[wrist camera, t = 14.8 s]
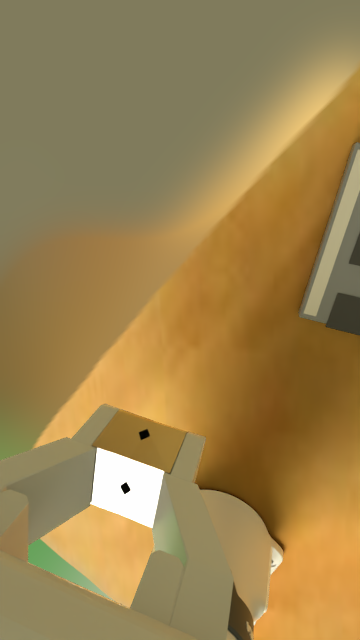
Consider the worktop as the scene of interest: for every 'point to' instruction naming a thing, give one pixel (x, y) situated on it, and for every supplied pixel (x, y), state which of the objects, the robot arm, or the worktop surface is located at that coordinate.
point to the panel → (338, 259)
